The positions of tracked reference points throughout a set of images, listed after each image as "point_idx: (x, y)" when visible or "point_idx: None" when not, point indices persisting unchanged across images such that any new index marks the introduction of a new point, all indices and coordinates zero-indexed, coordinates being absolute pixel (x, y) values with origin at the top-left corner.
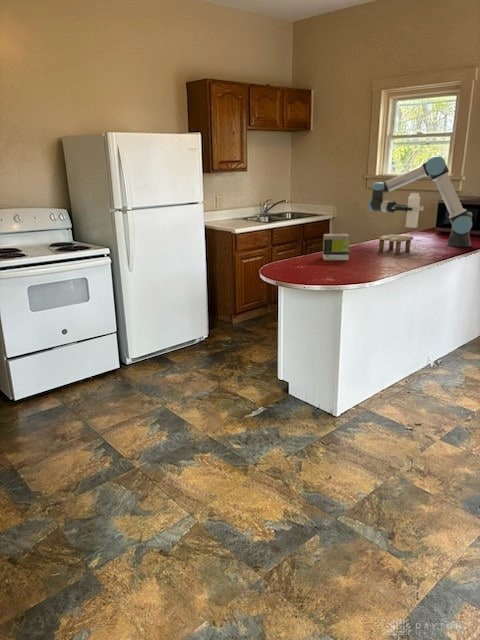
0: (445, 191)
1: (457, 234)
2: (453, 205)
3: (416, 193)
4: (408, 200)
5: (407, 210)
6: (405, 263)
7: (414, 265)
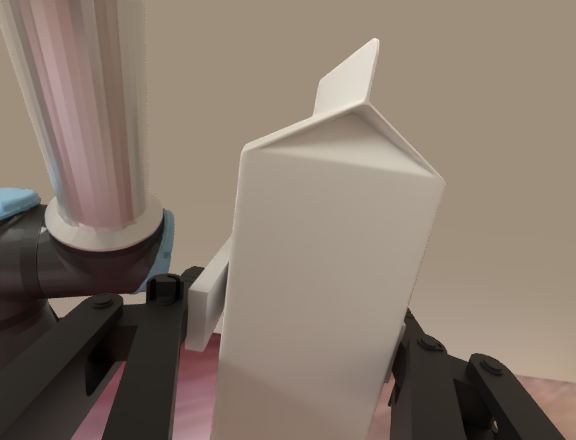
0: (143, 73)
1: (37, 316)
2: (148, 170)
3: (332, 80)
4: (427, 227)
5: (377, 389)
6: (563, 424)
7: (535, 389)
